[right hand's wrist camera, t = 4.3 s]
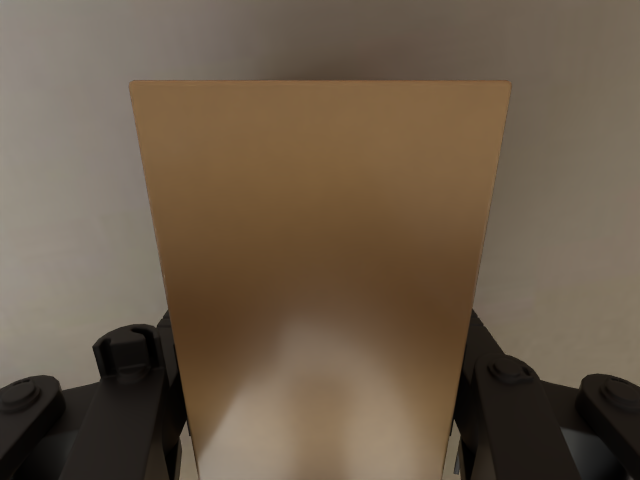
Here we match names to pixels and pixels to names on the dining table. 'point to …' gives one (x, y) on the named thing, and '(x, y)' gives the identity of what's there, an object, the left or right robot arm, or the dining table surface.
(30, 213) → the dining table surface
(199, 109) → the bar
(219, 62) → the dining table surface
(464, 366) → the right robot arm
